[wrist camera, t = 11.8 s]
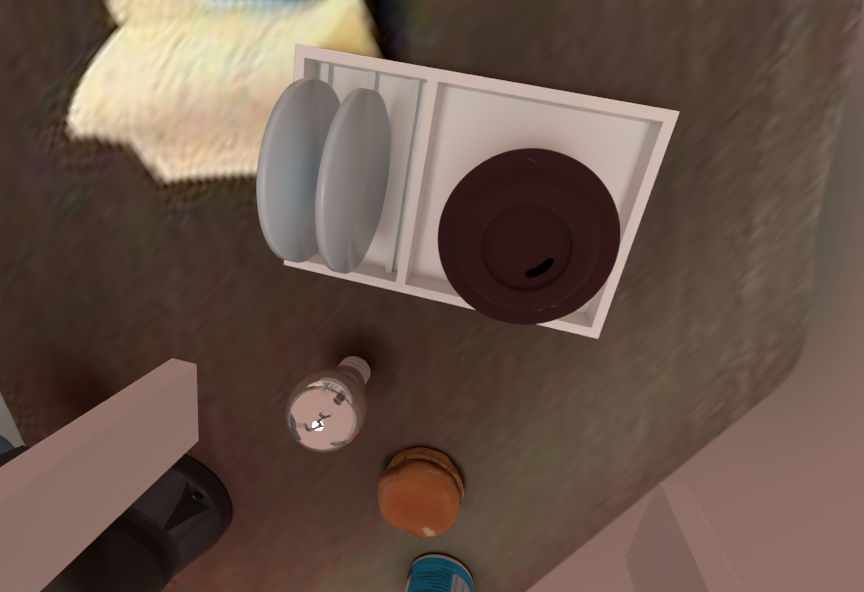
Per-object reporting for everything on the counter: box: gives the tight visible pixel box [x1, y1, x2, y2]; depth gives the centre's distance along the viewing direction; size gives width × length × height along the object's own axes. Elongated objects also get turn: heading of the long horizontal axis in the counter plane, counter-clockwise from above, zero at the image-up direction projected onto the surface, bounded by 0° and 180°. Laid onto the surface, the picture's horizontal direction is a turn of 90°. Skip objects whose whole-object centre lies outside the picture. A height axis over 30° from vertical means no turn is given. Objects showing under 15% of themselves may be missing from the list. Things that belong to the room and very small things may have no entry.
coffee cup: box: [438, 148, 621, 325], centre depth 29 cm, size 10×10×15 cm
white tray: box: [284, 44, 680, 339], centre depth 36 cm, size 28×18×4 cm, turn 80°
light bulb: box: [285, 356, 371, 452], centre depth 40 cm, size 7×7×12 cm
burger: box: [377, 447, 465, 538], centre depth 47 cm, size 10×9×5 cm
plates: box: [257, 78, 390, 274], centre depth 32 cm, size 4×13×13 cm, turn 170°
